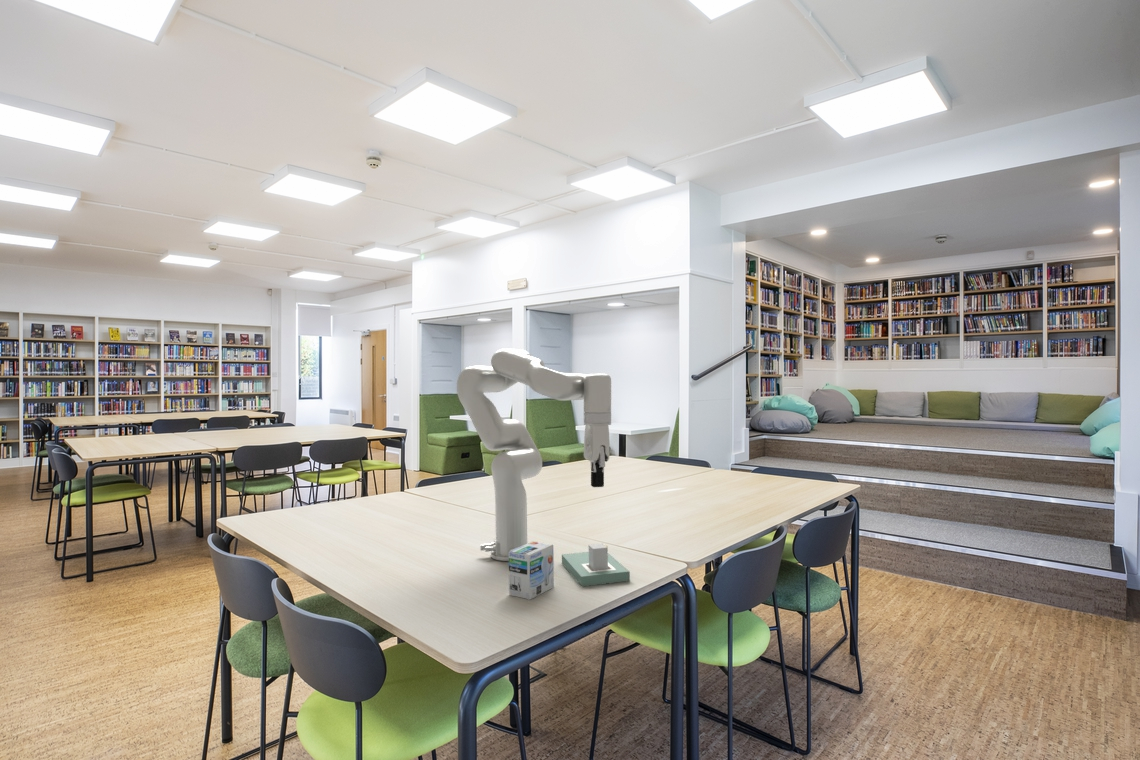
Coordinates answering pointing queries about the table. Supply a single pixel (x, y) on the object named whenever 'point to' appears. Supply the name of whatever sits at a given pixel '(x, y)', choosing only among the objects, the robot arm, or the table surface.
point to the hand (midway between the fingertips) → (597, 486)
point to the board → (586, 577)
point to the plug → (598, 557)
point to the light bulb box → (531, 570)
